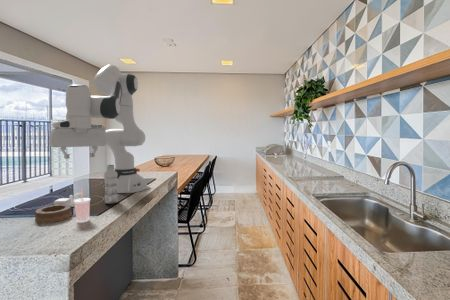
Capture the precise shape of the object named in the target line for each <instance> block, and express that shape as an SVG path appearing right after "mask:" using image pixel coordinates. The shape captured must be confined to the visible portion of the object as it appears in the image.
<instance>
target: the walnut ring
mask: <svg viewBox="0 0 450 300" xmlns="http://www.w3.org/2000/svg"><path fill="white" fill-rule="evenodd" d="M72 211H73V210H72V207H71V206H70V205H66V204H59V205H54V204H52V205H46V206H43V207H39V208H37V209H36V210H35V211H34V215H35V216H34V217H35V222H37V223H38V224H39V223H40V224H50V223H57V222H61V221H65V220H66V219H69V218H71V217H72V215H73V214H72V213H73V212H72Z"/></svg>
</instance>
